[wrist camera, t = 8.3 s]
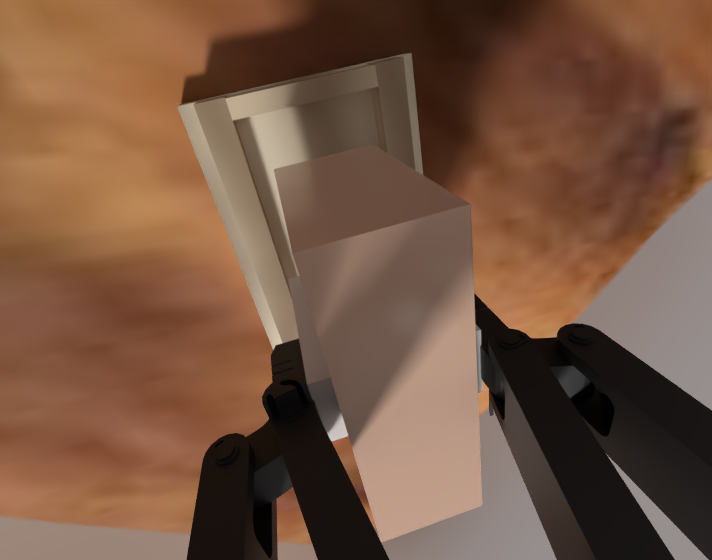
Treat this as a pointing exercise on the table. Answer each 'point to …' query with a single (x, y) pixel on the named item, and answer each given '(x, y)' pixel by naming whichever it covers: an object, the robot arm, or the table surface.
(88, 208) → the table surface
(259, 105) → the cream rectangular tray
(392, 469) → the clay block
